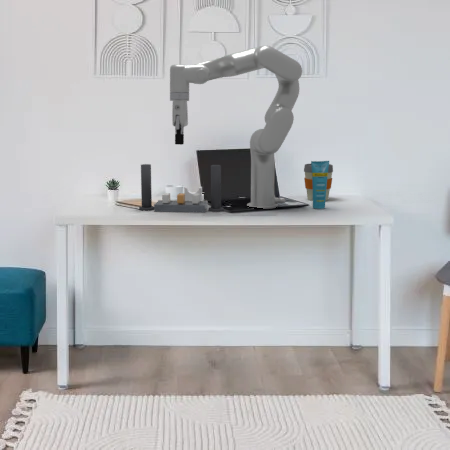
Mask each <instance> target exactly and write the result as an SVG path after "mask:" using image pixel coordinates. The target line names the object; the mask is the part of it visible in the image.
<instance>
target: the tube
mask: <svg viewBox="0 0 450 450" xmlns="http://www.w3.org/2000/svg"><path fill="white" fill-rule="evenodd" d="M310 164H311V166H312V184H313V201H312V208H313V209H315V210H316V209H317V210H324V209H325V208H326V201H327V200H326V187H327V176H328V168H329V164H330V160H319V161H317V160H313V161H312V160H311V162H310ZM325 200H326V201H325Z"/></svg>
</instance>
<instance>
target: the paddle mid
mask: <svg viewBox="0 0 450 450" xmlns="http://www.w3.org/2000/svg"><path fill="white" fill-rule="evenodd" d="M176 200H177V203H184V202H185V193H184V192H183V193H178V194H177V195H176Z"/></svg>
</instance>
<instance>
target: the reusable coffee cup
mask: <svg viewBox="0 0 450 450" xmlns="http://www.w3.org/2000/svg"><path fill="white" fill-rule="evenodd" d="M303 172H304V187H305V189H306V197H307V201H311V202H313V184H312V166H311V163H306V164H304V167H303ZM333 172H334V166H333V164H331V163H329V168H328V176H327V187H326V200H325V202H326V201H328V200H329V197H330V190H331V189H332V182H333V178H332V176H333Z"/></svg>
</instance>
